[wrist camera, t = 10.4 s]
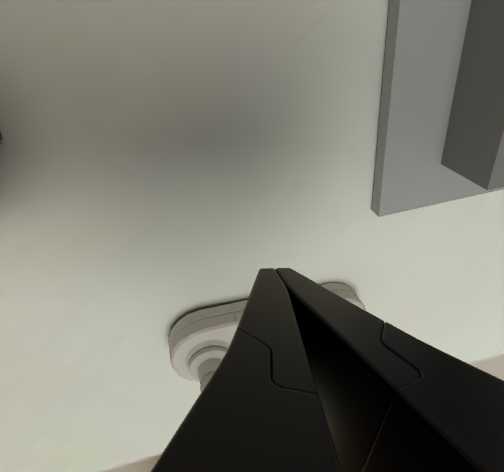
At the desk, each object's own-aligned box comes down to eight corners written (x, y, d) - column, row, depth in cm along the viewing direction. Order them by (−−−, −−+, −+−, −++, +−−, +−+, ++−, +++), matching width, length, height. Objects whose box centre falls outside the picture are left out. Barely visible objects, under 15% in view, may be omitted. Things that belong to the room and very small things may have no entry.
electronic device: (418, 425, 24) (188, 496, 22) (347, 320, 32) (174, 361, 30) (436, 372, 22) (175, 446, 19) (354, 272, 30) (162, 312, 27)
